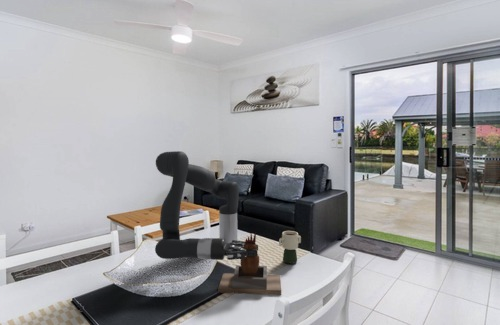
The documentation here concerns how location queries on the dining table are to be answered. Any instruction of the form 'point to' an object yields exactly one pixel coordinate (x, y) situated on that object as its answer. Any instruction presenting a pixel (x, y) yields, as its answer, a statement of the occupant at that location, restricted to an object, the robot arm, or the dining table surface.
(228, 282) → the socket stand
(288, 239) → the character mug
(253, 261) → the wooden figurine
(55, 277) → the dining table surface
